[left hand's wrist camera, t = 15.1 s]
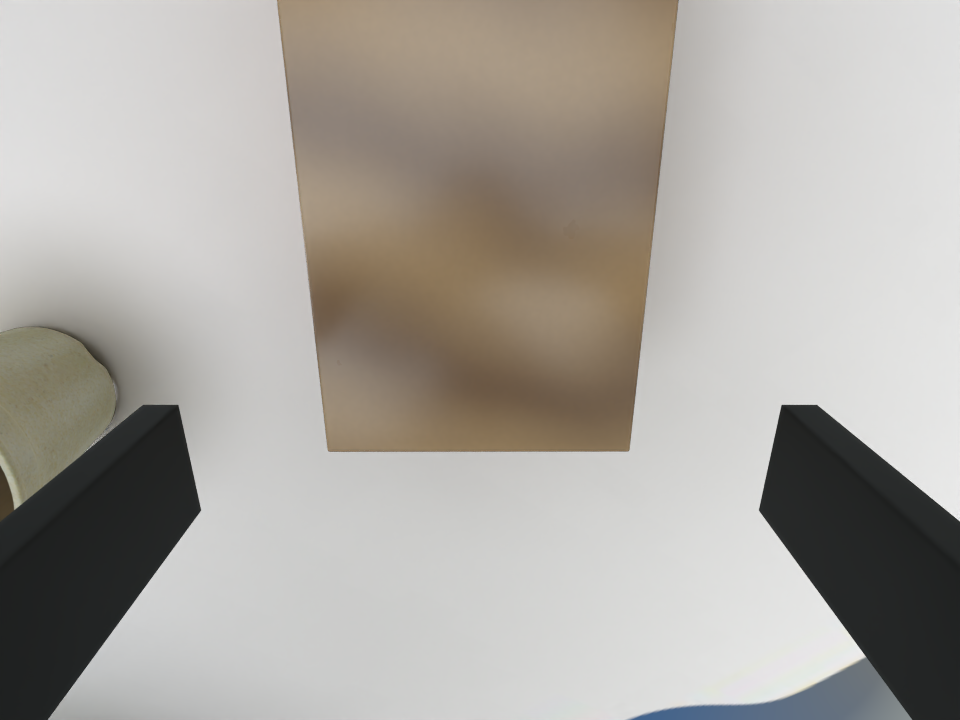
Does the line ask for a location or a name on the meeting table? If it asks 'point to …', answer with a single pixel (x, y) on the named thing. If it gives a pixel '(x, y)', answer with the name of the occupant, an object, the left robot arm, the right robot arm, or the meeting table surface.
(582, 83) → the cabinet
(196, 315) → the meeting table surface
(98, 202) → the meeting table surface
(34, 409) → the flower pot
